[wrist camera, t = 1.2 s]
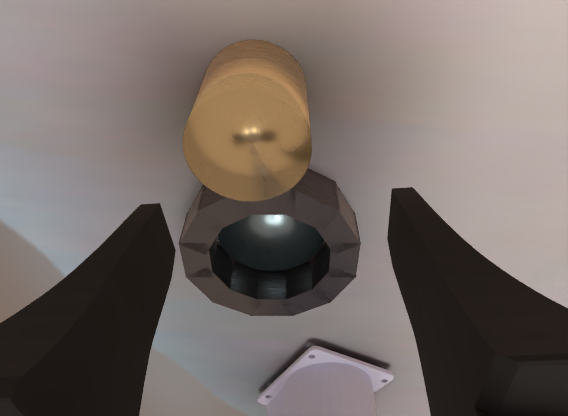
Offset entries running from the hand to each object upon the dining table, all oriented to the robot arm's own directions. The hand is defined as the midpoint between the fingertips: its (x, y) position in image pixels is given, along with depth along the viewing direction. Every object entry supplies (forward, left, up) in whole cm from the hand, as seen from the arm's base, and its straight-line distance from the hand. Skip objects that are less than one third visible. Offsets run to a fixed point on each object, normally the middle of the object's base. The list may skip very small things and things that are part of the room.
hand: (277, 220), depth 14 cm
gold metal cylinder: (-1, +1, -10) cm, 10 cm away
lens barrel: (-8, -4, -10) cm, 13 cm away
